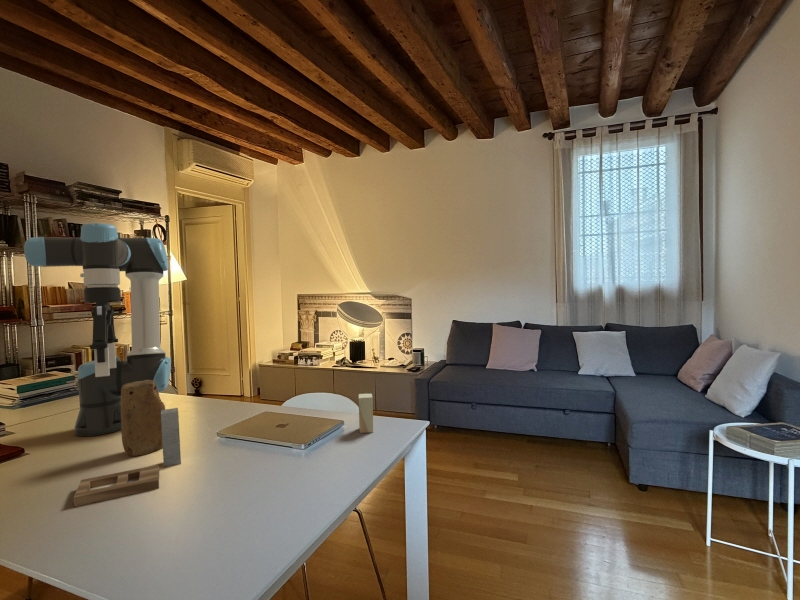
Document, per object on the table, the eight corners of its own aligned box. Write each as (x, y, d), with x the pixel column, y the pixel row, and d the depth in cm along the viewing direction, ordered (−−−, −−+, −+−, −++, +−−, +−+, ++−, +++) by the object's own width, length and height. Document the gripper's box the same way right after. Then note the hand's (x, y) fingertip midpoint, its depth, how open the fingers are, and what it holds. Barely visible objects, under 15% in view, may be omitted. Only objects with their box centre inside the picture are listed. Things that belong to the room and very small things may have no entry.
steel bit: (163, 461, 118) (161, 410, 117) (180, 458, 119) (177, 407, 119) (163, 467, 114) (160, 413, 113) (181, 463, 116) (178, 411, 115)
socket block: (81, 488, 103) (81, 479, 103) (159, 472, 111) (158, 464, 111) (74, 506, 95) (73, 497, 94) (158, 488, 102) (158, 479, 102)
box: (359, 427, 140) (358, 393, 140) (373, 427, 141) (372, 392, 140) (359, 433, 135) (358, 397, 134) (373, 432, 135) (372, 397, 135)
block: (125, 459, 120) (121, 387, 119) (121, 452, 125) (117, 382, 125) (169, 449, 127) (166, 380, 126) (163, 442, 132) (160, 376, 132)
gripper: (92, 288, 118) (96, 367, 119) (73, 285, 96) (78, 382, 97) (124, 287, 122) (128, 363, 122) (114, 284, 100) (118, 377, 100)
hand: (106, 372), depth 109 cm, fingers open, 13 cm apart
